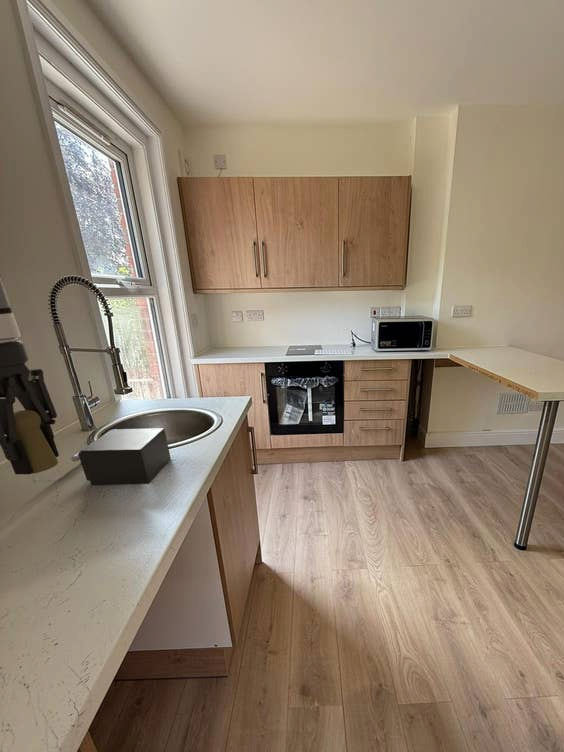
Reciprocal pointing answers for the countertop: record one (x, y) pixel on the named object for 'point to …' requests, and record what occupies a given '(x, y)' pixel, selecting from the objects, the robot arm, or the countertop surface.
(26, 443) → the cork
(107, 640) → the countertop surface
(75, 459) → the drawer
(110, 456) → the cabinet
